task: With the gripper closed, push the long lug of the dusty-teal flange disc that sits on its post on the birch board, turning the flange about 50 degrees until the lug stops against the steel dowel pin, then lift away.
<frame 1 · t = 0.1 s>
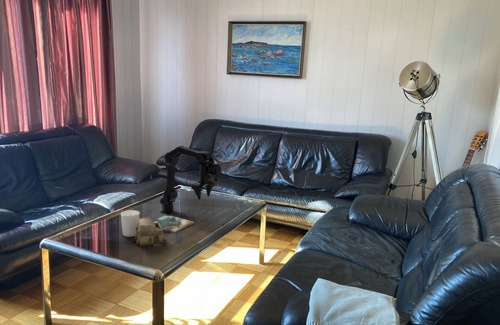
hand: (203, 198, 241), 15 cm above the table, fingers open, 9 cm apart
post board: (171, 224, 236), on the table
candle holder: (130, 234, 219), on the table
miniature house: (150, 242, 210), on the table
flange: (168, 219, 232), point 4 cm above the table, hinge at 0.0°
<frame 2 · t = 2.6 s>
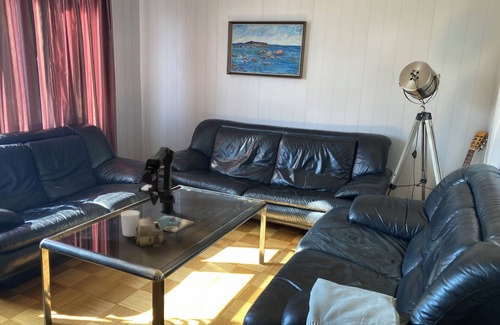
hand: (154, 205, 232), 12 cm above the table, fingers closed
nothing on the table moved.
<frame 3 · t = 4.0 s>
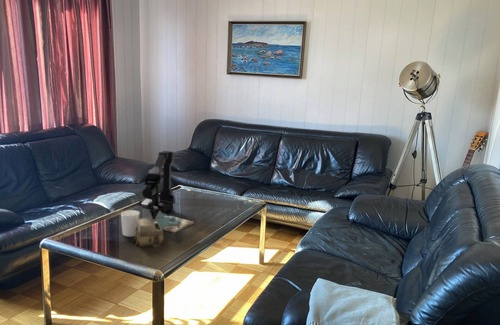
hand: (154, 219, 233), 4 cm above the table, fingers closed
nothing on the table moved.
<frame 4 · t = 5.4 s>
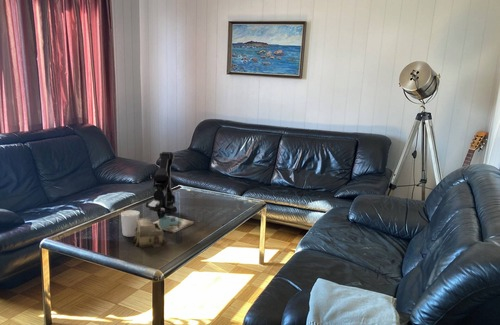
hand: (160, 221, 230), 4 cm above the table, fingers closed
flange: (169, 219, 232), point 4 cm above the table, hinge at 8.2°, touching gripper
everything else where it was.
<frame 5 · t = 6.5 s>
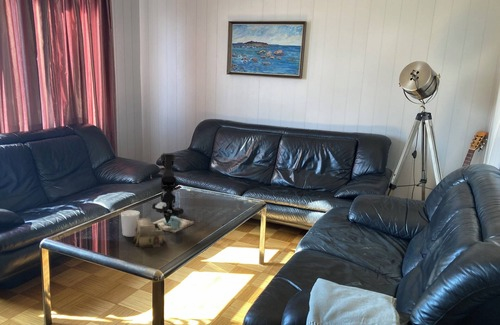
hand: (167, 222, 228), 4 cm above the table, fingers closed
flange: (172, 219, 232), point 4 cm above the table, hinge at 50.0°, touching gripper, post board
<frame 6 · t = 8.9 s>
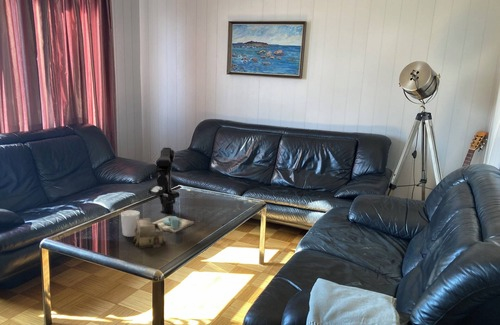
hand: (163, 206, 231), 12 cm above the table, fingers closed
flange: (172, 219, 232), point 4 cm above the table, hinge at 50.0°, touching post board
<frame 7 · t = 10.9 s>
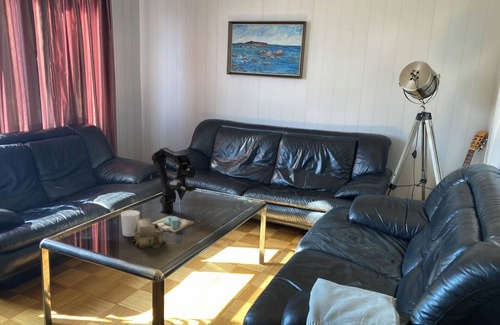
hand: (181, 199, 245), 12 cm above the table, fingers closed
at the end: flange at +50° (first picture: +0°); flange 0.0 cm from the target spot, resting on post board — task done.
